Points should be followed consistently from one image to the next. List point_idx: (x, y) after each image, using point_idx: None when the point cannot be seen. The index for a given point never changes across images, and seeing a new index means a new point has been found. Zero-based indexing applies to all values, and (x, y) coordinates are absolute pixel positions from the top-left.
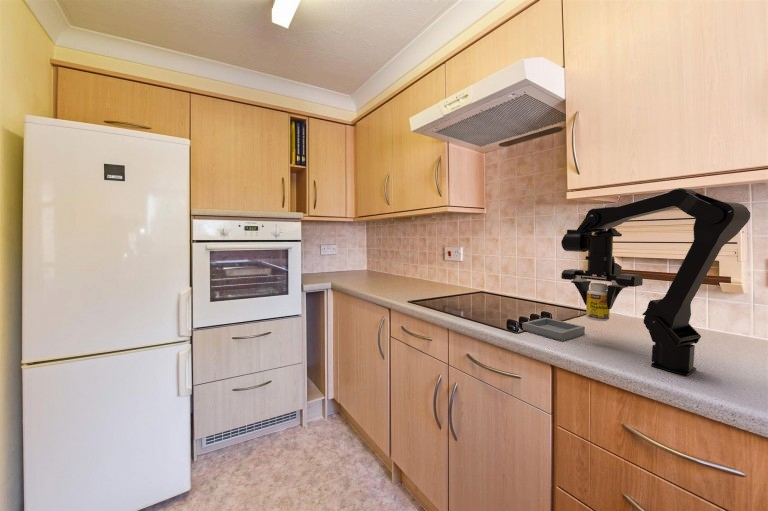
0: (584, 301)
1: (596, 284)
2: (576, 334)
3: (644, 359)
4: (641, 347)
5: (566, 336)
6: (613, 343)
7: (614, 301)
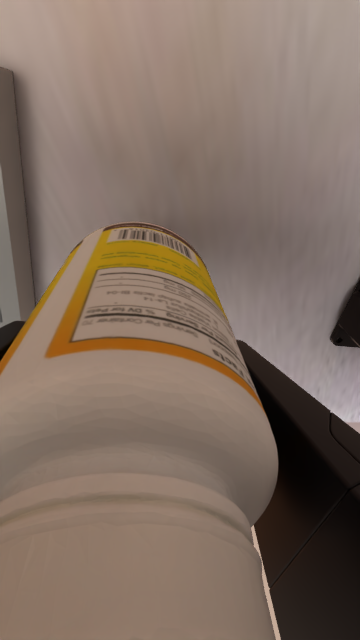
0: None
1: None
2: (17, 185)
3: (316, 285)
4: (317, 99)
5: (26, 286)
6: (195, 146)
7: (292, 386)
